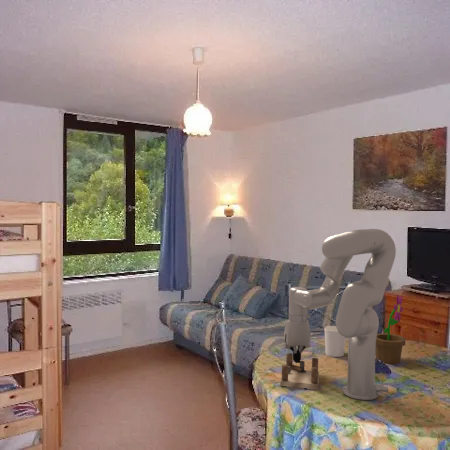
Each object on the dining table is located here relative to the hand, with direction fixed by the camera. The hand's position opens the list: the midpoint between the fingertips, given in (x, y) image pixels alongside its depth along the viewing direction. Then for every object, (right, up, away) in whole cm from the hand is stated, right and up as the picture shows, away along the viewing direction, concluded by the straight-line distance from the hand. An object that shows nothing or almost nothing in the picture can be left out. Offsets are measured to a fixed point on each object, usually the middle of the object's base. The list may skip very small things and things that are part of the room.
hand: (296, 361), depth 194 cm
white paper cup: (+21, -4, +24) cm, 32 cm away
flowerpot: (+43, -4, +16) cm, 46 cm away
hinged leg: (-1, -2, -4) cm, 4 cm away
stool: (0, -4, -11) cm, 12 cm away
